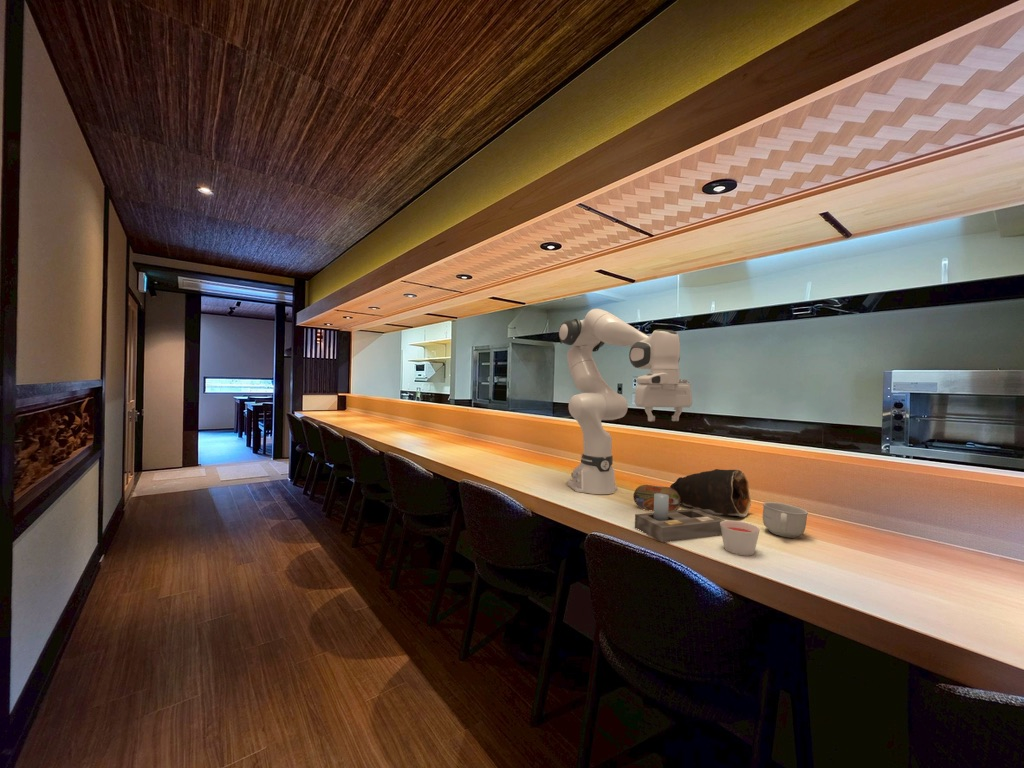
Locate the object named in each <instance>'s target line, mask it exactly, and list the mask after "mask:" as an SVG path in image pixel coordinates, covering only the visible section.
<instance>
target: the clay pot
mask: <svg viewBox="0 0 1024 768" xmlns="http://www.w3.org/2000/svg"><path fill="white" fill-rule="evenodd" d="M669 487H670V488H672V489H674V490H675V491H677V493H678V494H679V496H680V505H683V506H684V507H688V508H691V509H697V510H700V511H702V512H705V513H707V514H710V515H713V516H733V517H740V518H745V517H747V515H748V512H749V510H750V508H751V506H752V505H751V503H752V499H751V494H750V488H749V487H750V486H749V480H748V479H747V477H746V475H745V473H744V472H743V471H742V470H739V469H721V468H720V469H719V468H715V469H711V470H706V471H701V472H698V473H693V474H688V475H686V476H683V477H682V476H681V477H678V478H677V479H676V480H675V482H673V483H672V484H671V485H670V486H669Z"/></svg>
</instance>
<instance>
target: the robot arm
mask: <svg viewBox="0 0 1024 768" xmlns="http://www.w3.org/2000/svg"><path fill="white" fill-rule="evenodd" d="M558 338H559V340H560V342H561V343H562V344H565V345H567V346H572V347H570V348H569V349H568V351H567V353H566V359H567V360H566V361H567V364H568V369H569V372H570V374H571V377H572V379H573V383H574V385H575V387H576V389H577V390H579V391H580V393H577V394H574V395H572V396H571V398H570V399H569V401H568V411H569V414H570V416H571V417H572V418H573V419H574V420H576V422H577V423H578V425H579V427H580V429H581V432H582V436H583V437H582V438H583V441H582V442H583V453H582V454H581V456H580V462H579V464H578V465H577V466H576V467H575V468H574V469H572V472H571V479H570V480H566V483H565V484H566V485H568V486H569V487H570V489H572V490H573V491H574V490H575V491H574V492H576V493H586V494H592V495H610V494H614V493H615V492H616V490H618V486H617V485H616V476H615V474H616V473H615V468H614V467H613V464H614V463H613V458H614V457H613V455H612V449H613V446H612V445H613V443H612V442H613V441H612V440H613V439H612V435H611V434H610V433H609V432H608V431H607V430H605V429H604V427H603V424H602V421H615V420H617V419H621V418H623V417H625V416H626V414H627V412H628V406H629V405H628V401H627V399H626V398H625V396H623V395H622V394H619V392H617V391H615V390H614V389H613V388H612V387H610V385H609V384H608V383H607V381H605V380H604V378H603V377H602V374H601V373H600V371H599V369H598V366H597V364H596V362H595V359H594V358H593V354H592V353H593V352H598V351H599V349H600V348H602V347H603V346H604V345H605V344H606V345H611V346H619V347H629V348H630V349H629V352H628V353H629V355H628V357H629V358H628V359H629V361H630V364H631V365H632V366H633V367H634V368H637V369H641V370H650V373H646V374H644V375H641V376H638V377H637V378H636V383H637V386H636V388H635V392H634V393H635V394H634V405H636V407H638V408H644V411H645V413H646V415H647V422H655V421H656V415H653V413H652V411H653V410H654V409H653V408H674V410H673V411H674V413H673V415H671V421H672V422H679V420H680V415H681V414H682V412H683V408H691V407H692V404H693V393H692V390H691V389H692V388H691V383H690V381H688V379H680V367H679V366H680V365H679V362H680V359H681V344H680V336H679V333H678V332H677V331H675V330H672V329H662V328H661V329H660V328H658V329H655V330H653V332H652V333H651V334H650V335H649V334H647V333H645V332H643V331H641V330H638V329H637V328H635V327H633V326H632V325H630V324H629V323H627V322H625V321H624V320H622V319H621V318H619V317H617V316H616V315H614V314H613V313H611V312H609V311H607V310H604V309H603V308H602V309H601V308H593V309H591V310H590V309H589V311H588V312H587V313H586V315H585V317H584V318H583V319H579V318H573V319H569V320H565V321H563V322H562V323H561V325H560V327H559V328H558Z"/></svg>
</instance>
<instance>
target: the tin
mask: <svg viewBox="0 0 1024 768" xmlns="http://www.w3.org/2000/svg"><path fill="white" fill-rule="evenodd" d="M656 493H661V494H666V495H669V509H668V511H675V510H679V508H680V506H681V503H680V496H679V494H678V493H677V491H675V490H674V489H672V488H670V486H661V485H651V484H641V485H640V486H638V487H637V488H635V490H634V492H633V501H634V503H635V505H636V506H637V507H638V508H640V510H643V509H645V510H644V511H649V510H652V511H651V512H654V494H656Z"/></svg>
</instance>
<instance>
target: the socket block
mask: <svg viewBox="0 0 1024 768" xmlns="http://www.w3.org/2000/svg"><path fill="white" fill-rule="evenodd" d="M722 521H726V520H725V519H722V518H721V517H718V516H716V515H713V514H710V513H706V512H703V511H700V510H698V509H695V508H689V509H688V508H687V509H686V508H685V509H677V510H675V511H668V520H666V521H658V520H656V519H654V512H646V513H643V512H642V513H635V515H634V529H636V528H637V530H638V529H639V530H638V531H640V530H641V531H640V532H642V531H643V532H642V533H643V534H645V533H646V534H645V535H648V536H649V537H651V538H653V539H655V540H657V541H658V542H660V543H669V542H670V541H671V542H677V541H679V542H680V541H685V540H694V539H702V538H708V537H709V538H710V537H711V538H712V537H717V536H722V532H721V526H720V522H722ZM671 542H670V543H671Z"/></svg>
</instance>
